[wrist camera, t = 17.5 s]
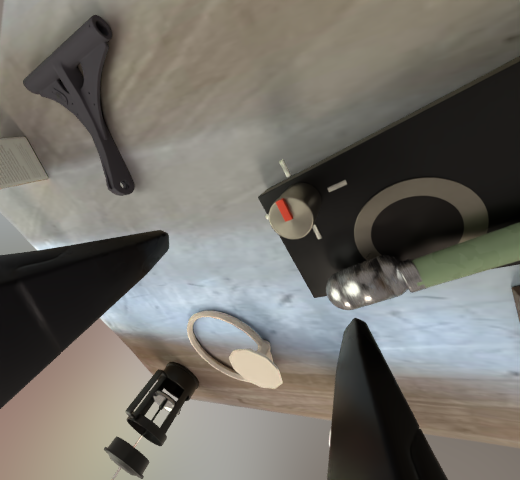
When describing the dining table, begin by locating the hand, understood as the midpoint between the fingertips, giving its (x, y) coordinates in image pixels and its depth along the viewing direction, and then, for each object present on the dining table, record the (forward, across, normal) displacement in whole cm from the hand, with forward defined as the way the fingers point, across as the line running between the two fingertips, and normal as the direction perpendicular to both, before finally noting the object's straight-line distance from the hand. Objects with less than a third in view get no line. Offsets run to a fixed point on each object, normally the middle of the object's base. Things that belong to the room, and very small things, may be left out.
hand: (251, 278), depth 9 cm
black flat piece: (+13, +25, +1) cm, 28 cm away
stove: (+13, -7, -1) cm, 15 cm away
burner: (+10, -8, -1) cm, 14 cm away
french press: (+13, +14, +53) cm, 57 cm away
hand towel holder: (+13, +2, +29) cm, 32 cm away
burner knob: (+10, 0, 0) cm, 10 cm away
